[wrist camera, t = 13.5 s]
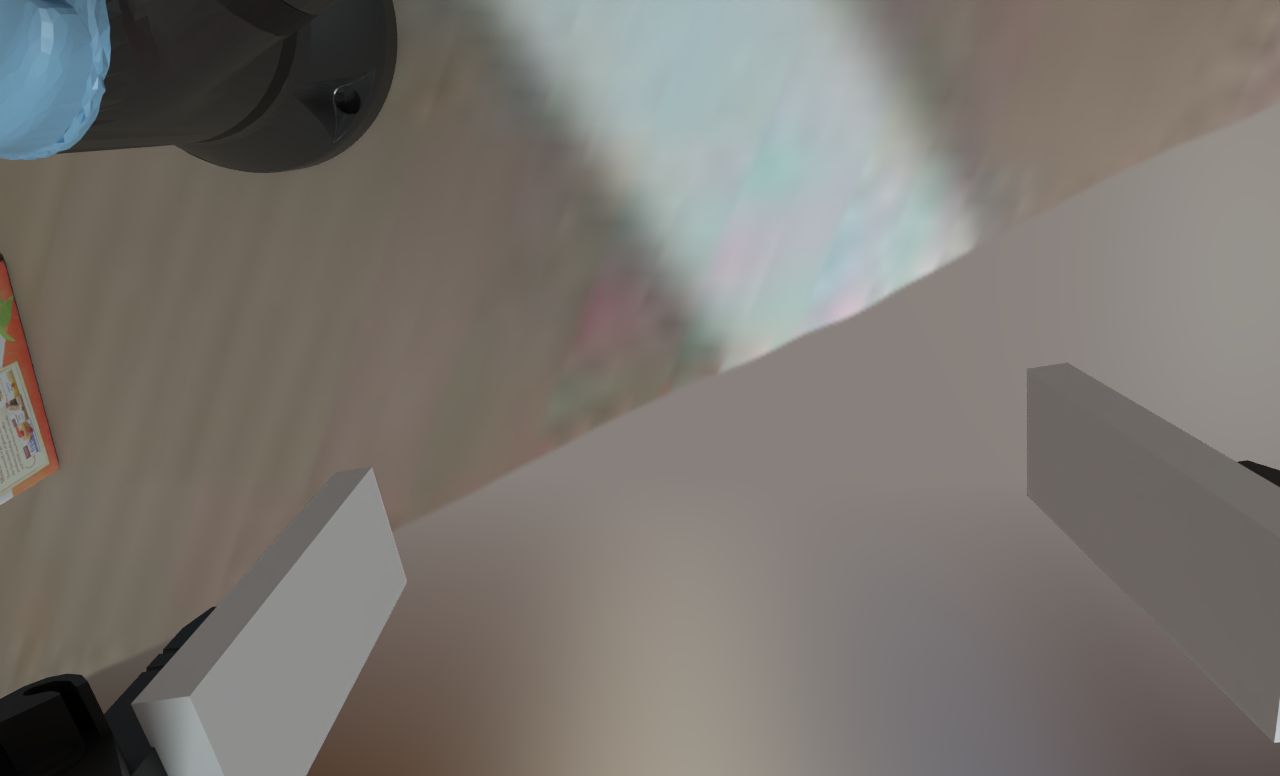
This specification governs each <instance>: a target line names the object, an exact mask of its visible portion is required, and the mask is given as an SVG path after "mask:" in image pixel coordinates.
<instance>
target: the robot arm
mask: <svg viewBox="0 0 1280 776" xmlns="http://www.w3.org/2000/svg"><path fill="white" fill-rule="evenodd" d="M396 57H397V26H396V17H395V11H394V6H393V1H392V0H0V158H4V159H10V160H20V159H26V160H36V158H37V157H38V158H48V157H50V156H52V155H53V154H60V153H74V152H87V151H101V150H114V149H127V148H141V147H154V146H168V145H175V146H177V147H179V148H181V149H182V150H184V151H186V152H188V153H189V154H191V155H193V156H195V157H197V158H200V159H202V160H204V161H207V162H209V163H212V164H215V165H218V166H221V167H225V168H229V169H234V170H239V171H245V172H254V173H273V172H282V171H290V170H296V169H302V168H306V167H310V166H314V165H317V164H320V163H322V162H325V161H327V160H329V159H331V158H333V157H335V156H337V155H338V154H340V153H342V152H343V151H345V150H346V149H347V148H349V147H350V146H351V145H353V144H354V143H355V142H356V141H357V140H358V139H359V138H360V137H361V136H362V135H363V134H364V133H365V132H366V131H367V129H368V128H369V127H370V126H371V124H372V123H373V121H374V120H375V119H376V117H377V115H378V114H379V112H380V110H381V108H382V106H383V104H384V102H385V100H386V98H387V95H388V92H389V90H390V86H391V83H392V80H393V75H394V70H395V65H396ZM1027 496H1028V497H1029V498H1030V499H1031V500H1032V501H1033V502H1034V503H1035V504H1036V505H1037V506H1038V507H1039V508H1040V509H1041V510H1042V511H1043V512H1044V513H1045V514H1046V515H1047V516H1048V517H1049V518H1050V519H1051V520H1052V521H1053V522H1054V523H1055V524H1056V525H1057V526H1058V527H1059V528H1060V529H1061V530H1062V531H1063V532H1064V533H1065V534H1066V535H1067V536H1068V537H1069V538H1070V539H1071V540H1072V541H1073V542H1074V543H1075V544H1076V545H1077V546H1078V547H1079V548H1080V549H1081V550H1082V551H1083V552H1084V553H1085V554H1086V555H1087V556H1088V557H1089V558H1090V559H1091V560H1092V561H1093V562H1094V563H1095V564H1096V565H1097V566H1098V567H1099V568H1100V569H1101V570H1102V571H1103V572H1104V573H1105V574H1106V575H1107V576H1108V577H1109V578H1110V579H1111V580H1112V581H1113V582H1114V583H1115V584H1116V585H1117V586H1118V587H1119V588H1120V589H1121V590H1122V591H1123V592H1124V593H1125V594H1126V595H1127V596H1128V597H1129V598H1130V599H1131V600H1132V601H1133V602H1134V603H1135V604H1136V605H1137V606H1138V607H1139V608H1140V609H1141V610H1142V611H1143V612H1144V613H1145V614H1146V615H1147V616H1148V617H1149V618H1150V619H1151V620H1152V621H1153V622H1154V623H1155V624H1156V625H1157V626H1158V627H1159V628H1160V629H1161V630H1162V631H1163V632H1164V633H1165V634H1166V635H1167V636H1168V637H1169V638H1170V639H1171V640H1172V641H1173V642H1174V643H1175V644H1176V645H1177V646H1178V647H1179V648H1180V649H1181V650H1182V651H1183V652H1184V653H1185V654H1186V655H1187V656H1188V657H1189V658H1190V659H1191V660H1192V661H1193V662H1194V663H1195V664H1196V665H1197V666H1198V667H1199V668H1200V669H1201V670H1202V671H1203V672H1204V673H1205V674H1206V675H1207V676H1208V677H1209V678H1210V679H1211V680H1212V681H1213V682H1214V683H1215V684H1216V685H1217V686H1218V687H1219V688H1220V689H1221V690H1222V691H1223V692H1224V693H1225V694H1226V695H1227V696H1228V697H1229V698H1230V699H1231V700H1232V701H1233V702H1234V703H1235V704H1236V705H1237V706H1238V707H1239V708H1240V709H1241V710H1242V711H1243V712H1244V713H1245V714H1246V715H1247V716H1248V717H1249V718H1250V719H1251V720H1252V721H1253V722H1254V723H1255V724H1256V725H1257V726H1258V727H1259V728H1260V729H1261V730H1262V731H1263V732H1264V733H1265V734H1266V735H1267V736H1268V737H1269V738H1270V739H1271V740H1272V741H1273V742H1274V743H1275V742H1280V471H1279V470H1276V469H1273V468H1270V467H1267V466H1264V465H1260V464H1257V463H1254V462H1251V461H1240V462H1236V461H1234V460H1232V459H1230V458H1229V457H1227V456H1225V455H1224V454H1222V453H1220V452H1219V451H1217V450H1215V449H1213V448H1212V447H1210V446H1208V445H1207V444H1205V443H1203V442H1202V441H1200V440H1198V439H1196V438H1195V437H1193V436H1191V435H1190V434H1188V433H1186V432H1184V431H1183V430H1181V429H1179V428H1178V427H1176V426H1174V425H1172V424H1171V423H1169V422H1167V421H1166V420H1164V419H1162V418H1161V417H1159V416H1157V415H1155V414H1154V413H1152V412H1150V411H1149V410H1147V409H1145V408H1144V407H1142V406H1140V405H1138V404H1137V403H1135V402H1133V401H1132V400H1130V399H1128V398H1127V397H1125V396H1123V395H1121V394H1120V393H1118V392H1116V391H1115V390H1113V389H1111V388H1109V387H1108V386H1106V385H1104V384H1103V383H1101V382H1099V381H1098V380H1096V379H1094V378H1092V377H1091V376H1089V375H1087V374H1086V373H1084V372H1082V371H1081V370H1079V369H1077V368H1075V367H1074V366H1072V365H1070V364H1069V363H1063V364H1057V365H1050V366H1043V367H1037V368H1030V369H1027ZM406 583H407V580H406V577H405V574H404V570H403V567H402V564H401V561H400V557H399V554H398V551H397V547H396V544H395V541H394V538H393V534H392V531H391V528H390V525H389V521H388V518H387V515H386V512H385V508H384V505H383V502H382V499H381V495H380V492H379V489H378V485H377V482H376V479H375V476H374V472H373V469H372V467H368V468H361V469H355V470H348V471H341V472H336V473H335V474H334V475H333V476H332V477H331V478H330V479H329V481H328V482H327V483H326V484H325V485H324V486H323V487H322V488H321V490H320V491H319V492H318V493H317V494H316V495H315V496H314V497H313V499H312V500H311V501H310V502H309V503H308V504H307V505H306V507H305V508H304V509H303V510H302V511H301V512H300V513H299V514H298V516H297V517H296V518H295V519H294V520H293V521H292V522H291V523H290V525H289V526H288V527H287V528H286V529H285V530H284V531H283V533H282V534H281V535H280V536H279V537H278V538H277V539H276V540H275V542H274V543H273V544H272V545H271V546H270V547H269V548H268V550H267V551H266V552H265V553H264V554H263V555H262V556H261V557H260V559H259V560H258V561H257V562H256V563H255V564H254V565H253V566H252V568H251V569H250V570H249V571H248V572H247V573H246V574H245V576H244V577H243V578H242V579H241V580H240V581H239V582H238V583H237V585H236V586H235V587H234V588H233V589H232V590H231V591H230V592H229V594H228V595H227V596H226V597H225V598H224V599H223V600H222V602H221V603H220V604H219V605H218V606H217V607H212V608H210V609H209V610H207V611H206V612H205V613H203V614H202V615H200V616H199V617H198V618H196V619H195V620H193V621H192V622H191V623H189V624H188V625H186V626H185V627H183V628H182V630H181V631H180V632H179V633H178V634H177V635H176V636H175V637H174V638H173V639H172V640H171V642H170V643H169V644H168V645H167V646H166V647H165V648H164V649H163V654H159V655H158V656H157V657H156V658H155V659H154V660H153V661H152V662H151V663H150V665H149V666H148V667H147V671H146V672H143V673H141V674H140V675H139V677H138V678H137V679H136V680H135V681H134V682H133V683H132V684H131V685H130V686H129V688H128V689H127V690H126V691H125V692H124V693H123V694H122V695H121V696H120V697H119V698H118V700H117V701H116V702H115V703H114V704H113V705H112V706H111V707H110V708H109V709H108V711H107V712H106V713H105V714H103V712H102V710H101V708H100V706H99V704H98V702H97V700H96V698H95V696H94V694H93V691H92V690H91V687H90V685H89V683H88V681H87V680H86V679H85V678H84V677H83V676H82V675H76V674H63V675H58V676H53V677H48V678H45V679H43V680H40V681H37V682H35V683H32V684H29V685H27V686H24V687H22V688H20V689H18V690H16V691H14V692H13V693H11V694H9V695H7V696H5V697H3V698H1V699H0V776H306V774H307V773H308V771H309V769H310V767H311V765H312V763H313V761H314V759H315V757H316V755H317V753H318V751H319V750H320V748H321V746H322V744H323V742H324V740H325V738H326V736H327V734H328V732H329V730H330V729H331V726H332V724H333V723H334V721H335V719H336V717H337V715H338V713H339V711H340V709H341V707H342V705H343V704H344V702H345V700H346V698H347V696H348V694H349V692H350V690H351V688H352V686H353V685H354V683H355V681H356V679H357V677H358V675H359V673H360V671H361V669H362V667H363V665H364V663H365V661H366V659H367V658H368V656H369V654H370V652H371V650H372V648H373V646H374V644H375V642H376V640H377V638H378V637H379V635H380V633H381V631H382V629H383V627H384V625H385V623H386V621H387V619H388V617H389V616H390V614H391V612H392V610H393V608H394V606H395V604H396V602H397V600H398V598H399V596H400V594H401V593H402V591H403V589H404V587H405V585H406Z"/></svg>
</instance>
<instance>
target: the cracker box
mask: <svg viewBox="0 0 1280 776" xmlns="http://www.w3.org/2000/svg"><path fill="white" fill-rule="evenodd" d="M58 469H59V462H58V459H57V455H56V452H55V448H54V444H53V441H52V437H51V433H50V430H49V425H48V422H47V418H46V415H45V411H44V407H43V403H42V399H41V395H40V393H39V389H38V385H37V382H36V378H35V374H34V370H33V366H32V362H31V359H30V355H29V352H28V348H27V344H26V340H25V337H24V333H23V329H22V326H21V322H20V318H19V314H18V310H17V306H16V303H15V300H14V296H13V292H12V288H11V284H10V281H9V277H8V273H7V269H6V266H5V262H4V261H3V260H0V505H1V504H3V503H4V502H6V501H8V500H9V499H11V498H13V497H14V496H16V495H18V494H19V493H21V492H23V491H24V490H26V489H27V488H29V487H31V486H33V485H34V484H36V483H38V482H39V481H41V480H43V479H44V478H46V477H47V476H49V475H50V474H52V473H53V472H55V471H57V470H58Z"/></svg>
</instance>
